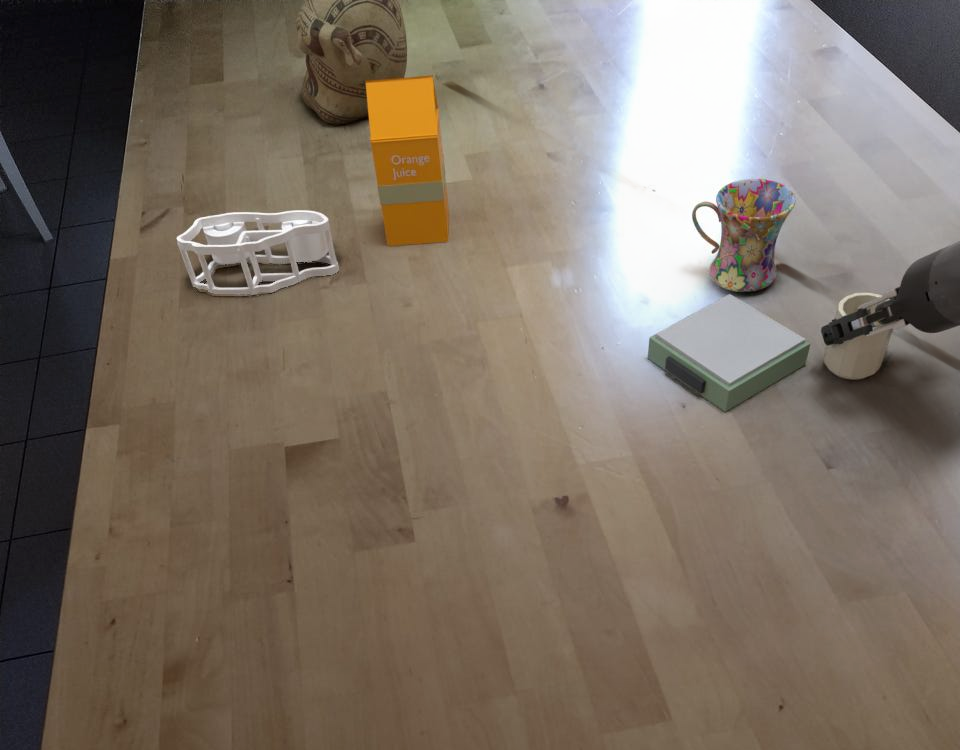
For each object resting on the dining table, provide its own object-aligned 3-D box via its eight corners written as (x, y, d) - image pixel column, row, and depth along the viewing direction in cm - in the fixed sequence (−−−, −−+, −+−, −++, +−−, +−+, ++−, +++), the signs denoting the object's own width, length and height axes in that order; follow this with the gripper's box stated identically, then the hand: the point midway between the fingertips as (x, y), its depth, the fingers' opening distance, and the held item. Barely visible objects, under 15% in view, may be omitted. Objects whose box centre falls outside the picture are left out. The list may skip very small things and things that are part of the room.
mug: (784, 263, 117) (802, 183, 109) (770, 304, 113) (788, 222, 104) (693, 251, 121) (703, 171, 112) (676, 289, 116) (686, 210, 107)
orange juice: (448, 242, 126) (432, 89, 110) (387, 246, 127) (361, 94, 111) (449, 213, 131) (434, 62, 115) (389, 217, 131) (366, 67, 115)
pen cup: (847, 342, 107) (864, 285, 101) (890, 367, 104) (910, 310, 98) (810, 364, 105) (826, 307, 99) (854, 390, 102) (872, 333, 96)
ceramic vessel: (293, 138, 148) (242, -86, 124) (313, 81, 161) (270, -132, 137) (407, 132, 147) (377, -96, 123) (418, 75, 159) (393, -142, 135)
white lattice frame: (345, 250, 127) (334, 199, 121) (331, 295, 121) (319, 244, 115) (210, 253, 129) (193, 203, 123) (189, 298, 123) (170, 248, 117)
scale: (725, 315, 112) (729, 290, 109) (805, 364, 105) (812, 339, 102) (644, 360, 108) (646, 335, 105) (721, 414, 101) (726, 389, 98)
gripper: (1012, 221, 86) (891, 274, 103) (893, 266, 84) (788, 314, 100) (1032, 297, 88) (909, 337, 104) (915, 344, 85) (808, 379, 101)
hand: (850, 326), depth 102 cm, fingers closed on pen cup, 6 cm apart
